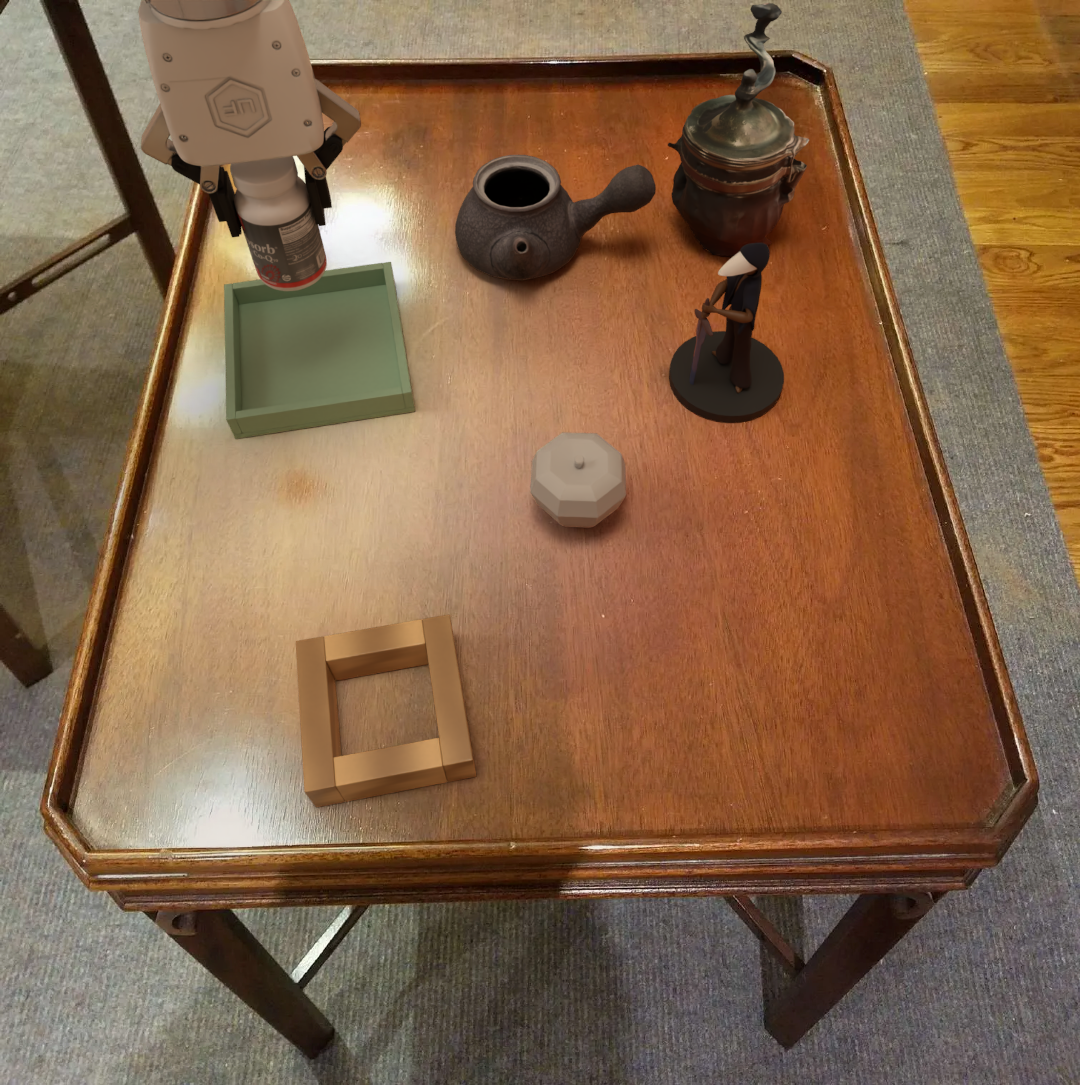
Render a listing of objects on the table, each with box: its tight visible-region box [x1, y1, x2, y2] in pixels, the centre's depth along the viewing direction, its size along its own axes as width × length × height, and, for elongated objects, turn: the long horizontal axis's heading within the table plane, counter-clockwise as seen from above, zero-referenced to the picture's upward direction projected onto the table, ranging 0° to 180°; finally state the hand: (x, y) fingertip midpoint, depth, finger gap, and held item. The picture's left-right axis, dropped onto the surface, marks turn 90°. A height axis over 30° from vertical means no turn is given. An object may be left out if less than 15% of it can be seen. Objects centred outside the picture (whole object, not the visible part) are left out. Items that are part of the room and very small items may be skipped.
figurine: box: [668, 243, 785, 424], centre depth 75 cm, size 10×10×15 cm
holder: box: [295, 614, 477, 808], centre depth 64 cm, size 11×11×4 cm
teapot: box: [454, 154, 657, 281], centre depth 86 cm, size 19×15×10 cm
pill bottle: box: [229, 156, 328, 291], centre depth 71 cm, size 6×6×10 cm
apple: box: [529, 431, 627, 529], centre depth 72 cm, size 8×8×7 cm
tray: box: [223, 261, 416, 440], centre depth 83 cm, size 16×17×3 cm
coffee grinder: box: [667, 2, 810, 257], centre depth 86 cm, size 13×15×18 cm
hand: (278, 218), depth 71 cm, fingers closed on pill bottle, 5 cm apart
